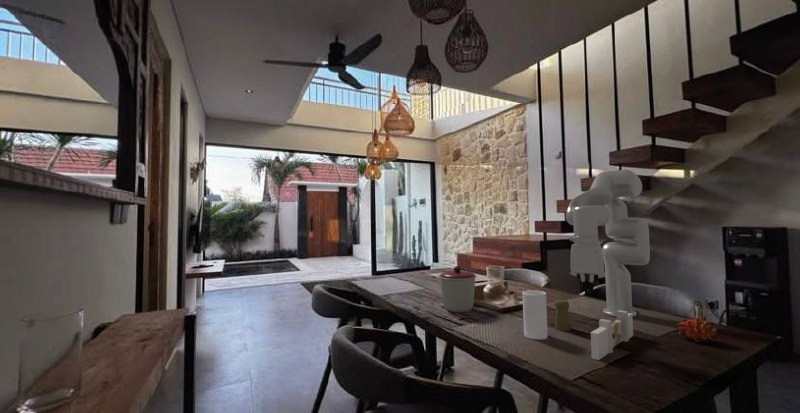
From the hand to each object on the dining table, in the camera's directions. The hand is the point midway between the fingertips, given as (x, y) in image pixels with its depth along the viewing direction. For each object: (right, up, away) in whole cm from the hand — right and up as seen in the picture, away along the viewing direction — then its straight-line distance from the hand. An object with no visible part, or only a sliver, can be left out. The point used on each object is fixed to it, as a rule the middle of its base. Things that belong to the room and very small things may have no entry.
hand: (588, 292), depth 120 cm
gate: (+7, -16, -5) cm, 18 cm away
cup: (-16, -18, +7) cm, 25 cm away
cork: (-2, -18, +14) cm, 23 cm away
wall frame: (+6, -17, -5) cm, 19 cm away
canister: (-38, -20, +44) cm, 62 cm away
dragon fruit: (+37, -16, -2) cm, 40 cm away
